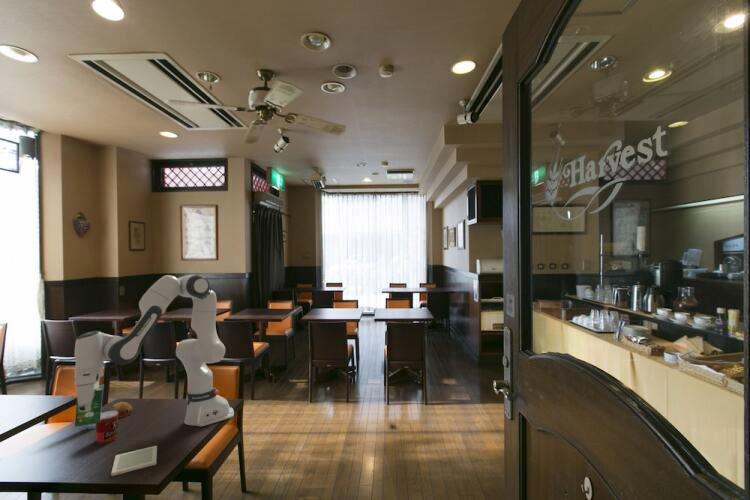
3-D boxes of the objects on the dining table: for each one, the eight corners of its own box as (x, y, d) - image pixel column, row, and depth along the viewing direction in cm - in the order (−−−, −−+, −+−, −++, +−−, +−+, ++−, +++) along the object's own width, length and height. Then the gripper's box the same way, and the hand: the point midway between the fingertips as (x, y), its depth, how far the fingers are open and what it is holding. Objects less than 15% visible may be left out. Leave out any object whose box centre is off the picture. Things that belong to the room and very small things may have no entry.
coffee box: (101, 419, 142) (103, 387, 142) (100, 422, 140) (102, 389, 140) (76, 424, 138) (77, 390, 138) (74, 427, 135) (76, 393, 136)
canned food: (106, 444, 150) (106, 418, 151) (91, 443, 152) (91, 417, 152) (122, 436, 158) (122, 411, 158) (107, 434, 159) (108, 409, 160)
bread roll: (123, 417, 185) (117, 403, 186) (139, 409, 184) (133, 395, 185) (106, 426, 175) (100, 411, 176) (123, 418, 174) (116, 403, 175)
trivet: (156, 447, 147) (157, 445, 147) (156, 464, 135) (156, 461, 135) (115, 457, 140) (115, 455, 140) (111, 476, 128) (111, 473, 128)
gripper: (84, 367, 146) (84, 401, 146) (73, 382, 129) (73, 420, 129) (103, 365, 150) (103, 397, 149) (95, 379, 132) (95, 416, 132)
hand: (89, 408), depth 139 cm, fingers closed on coffee box, 3 cm apart
